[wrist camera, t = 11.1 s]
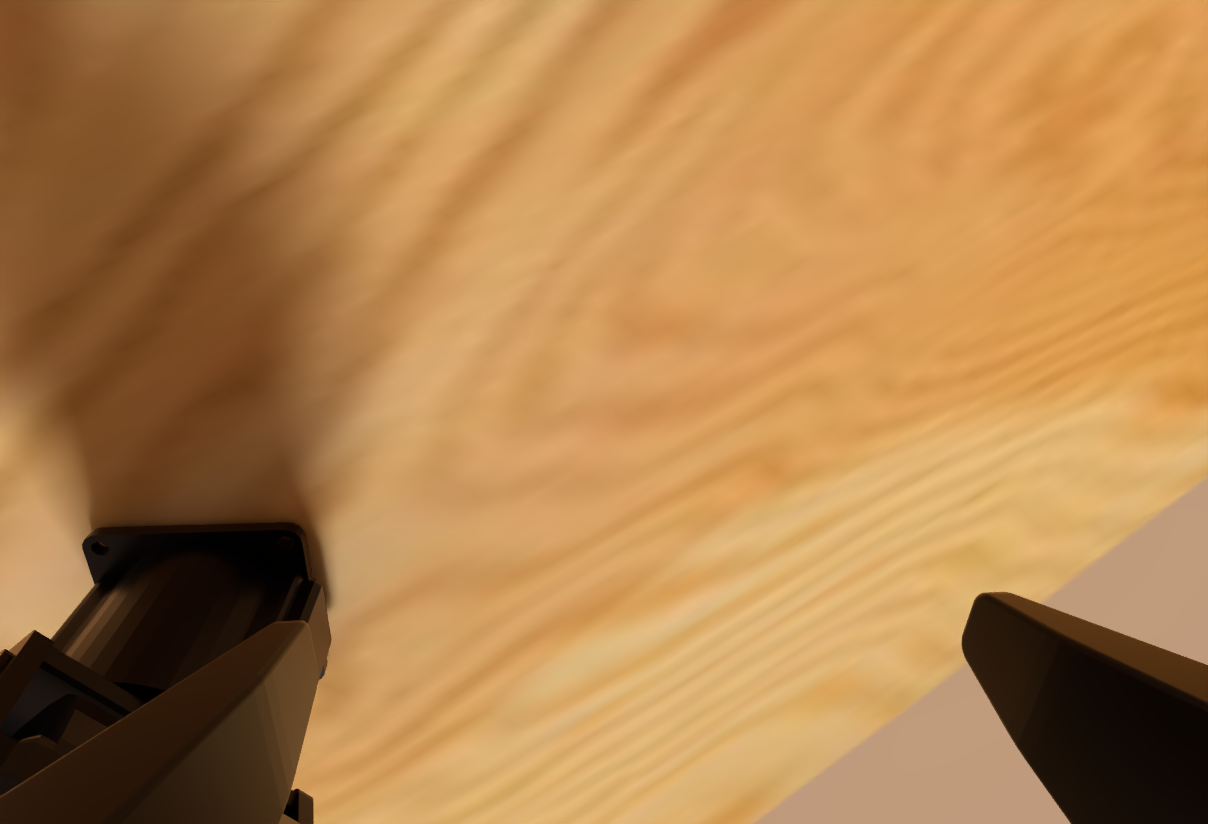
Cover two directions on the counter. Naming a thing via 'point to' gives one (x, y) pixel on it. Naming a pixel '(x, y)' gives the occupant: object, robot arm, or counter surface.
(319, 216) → the counter surface
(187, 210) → the counter surface
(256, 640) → the robot arm
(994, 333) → the counter surface
